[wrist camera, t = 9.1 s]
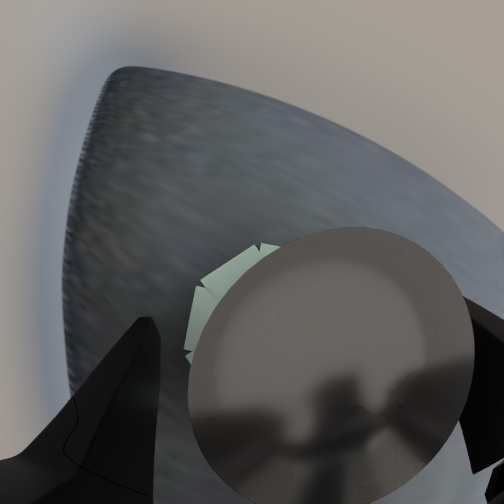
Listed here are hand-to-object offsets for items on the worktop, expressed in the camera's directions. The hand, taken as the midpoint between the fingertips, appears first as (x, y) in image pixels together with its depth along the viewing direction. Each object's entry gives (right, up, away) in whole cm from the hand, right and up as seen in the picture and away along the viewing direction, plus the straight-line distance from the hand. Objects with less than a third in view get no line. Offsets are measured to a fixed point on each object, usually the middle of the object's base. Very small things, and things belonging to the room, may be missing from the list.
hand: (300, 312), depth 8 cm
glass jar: (0, -3, +8) cm, 9 cm away
